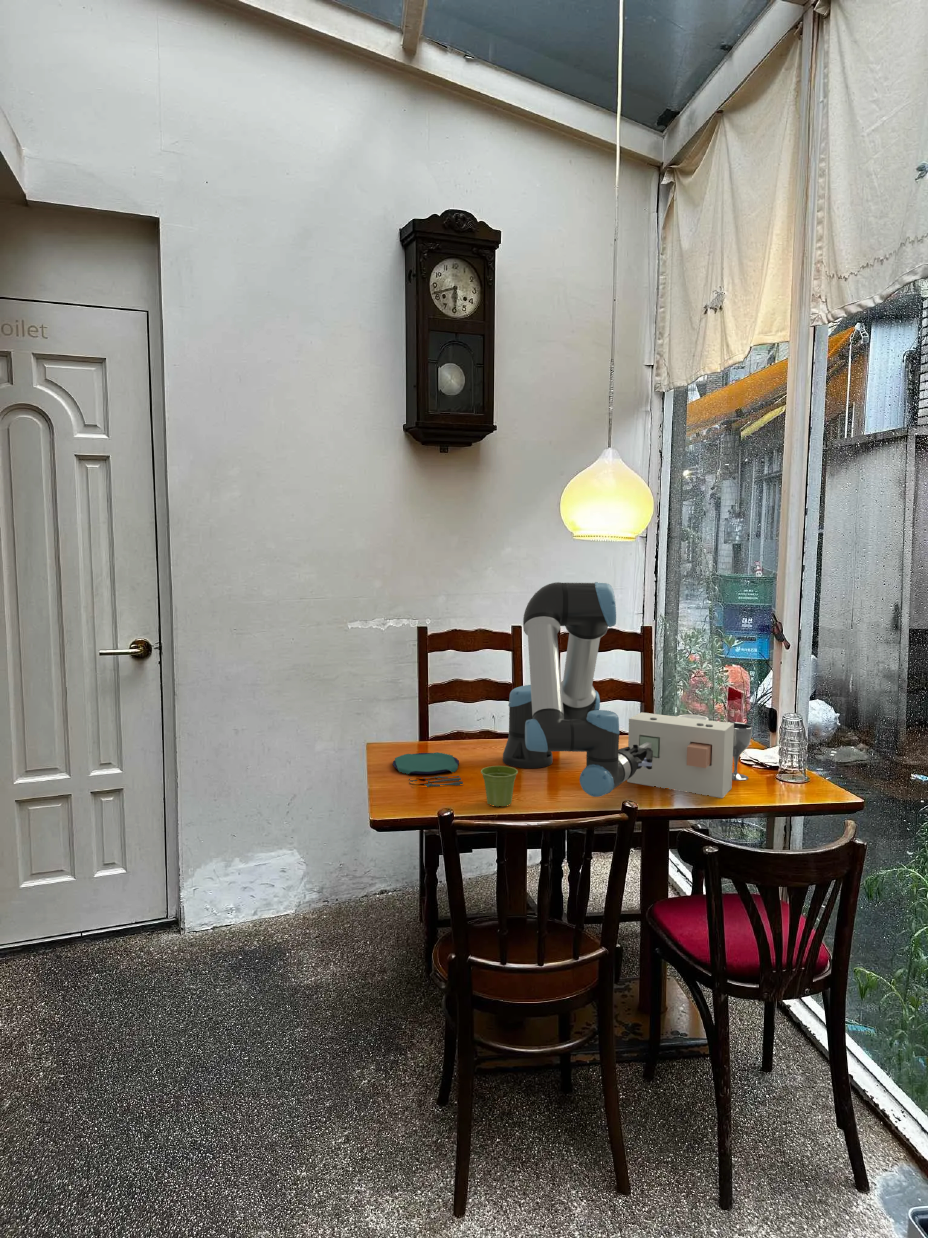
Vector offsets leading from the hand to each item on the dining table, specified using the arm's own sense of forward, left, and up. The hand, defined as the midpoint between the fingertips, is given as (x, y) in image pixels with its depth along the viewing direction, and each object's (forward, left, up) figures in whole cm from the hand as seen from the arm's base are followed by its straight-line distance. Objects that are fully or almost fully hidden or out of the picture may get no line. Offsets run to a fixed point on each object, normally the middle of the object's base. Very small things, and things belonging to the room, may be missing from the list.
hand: (648, 747), depth 213 cm
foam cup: (+28, +20, -11) cm, 36 cm away
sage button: (+2, +2, -2) cm, 4 cm away
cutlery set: (-54, +31, -12) cm, 64 cm away
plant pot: (-44, -2, -11) cm, 46 cm away
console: (+9, -2, -11) cm, 14 cm away
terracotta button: (+9, -11, -2) cm, 14 cm away
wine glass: (+29, 0, -11) cm, 31 cm away
